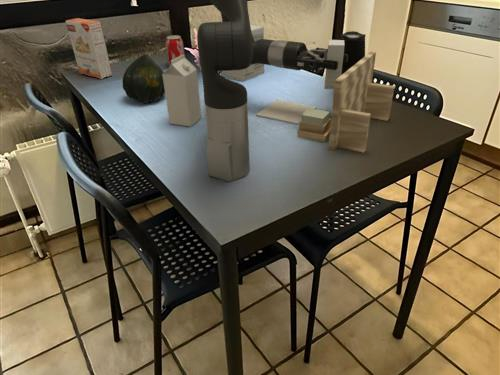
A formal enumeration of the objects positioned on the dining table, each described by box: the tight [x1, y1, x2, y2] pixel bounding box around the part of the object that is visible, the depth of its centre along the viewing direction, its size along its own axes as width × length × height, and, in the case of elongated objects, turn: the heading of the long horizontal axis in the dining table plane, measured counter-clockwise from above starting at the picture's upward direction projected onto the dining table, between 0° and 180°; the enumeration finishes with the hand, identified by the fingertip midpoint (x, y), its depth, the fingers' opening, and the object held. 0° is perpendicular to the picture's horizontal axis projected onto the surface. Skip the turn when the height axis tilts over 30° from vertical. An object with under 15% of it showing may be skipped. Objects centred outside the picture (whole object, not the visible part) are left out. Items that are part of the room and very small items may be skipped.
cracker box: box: [65, 17, 113, 79], centre depth 155 cm, size 14×6×21 cm, turn 55°
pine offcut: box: [296, 127, 331, 143], centre depth 109 cm, size 6×8×2 cm
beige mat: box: [255, 99, 318, 126], centre depth 124 cm, size 14×14×1 cm
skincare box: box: [323, 39, 345, 91], centre depth 109 cm, size 6×4×12 cm
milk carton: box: [162, 53, 202, 127], centre depth 115 cm, size 7×7×19 cm
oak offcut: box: [298, 117, 331, 135], centre depth 108 cm, size 6×7×2 cm
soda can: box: [165, 34, 185, 67], centre depth 165 cm, size 7×7×12 cm
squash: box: [122, 54, 165, 104], centre depth 134 cm, size 14×15×15 cm
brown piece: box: [328, 51, 396, 154], centre depth 106 cm, size 28×8×18 cm, turn 149°
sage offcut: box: [301, 108, 331, 126], centre depth 107 cm, size 5×6×2 cm
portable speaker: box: [338, 30, 367, 75], centre depth 130 cm, size 9×9×20 cm
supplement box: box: [221, 24, 265, 82], centre depth 152 cm, size 13×13×18 cm
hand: (342, 62), depth 107 cm, fingers closed on skincare box, 7 cm apart
